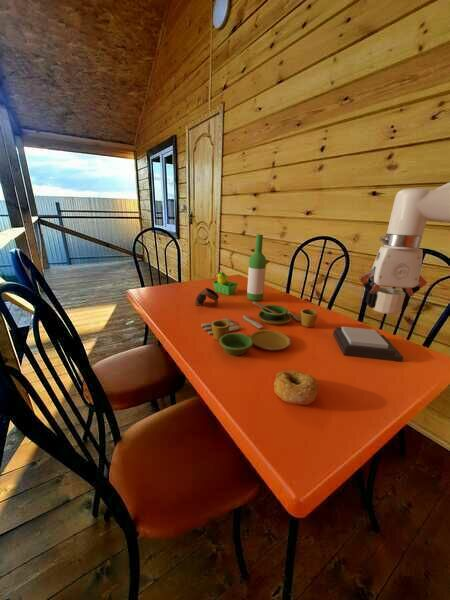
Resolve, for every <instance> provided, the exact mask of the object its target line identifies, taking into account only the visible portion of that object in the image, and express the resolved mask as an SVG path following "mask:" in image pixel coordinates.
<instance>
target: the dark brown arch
mask: <svg viewBox="0 0 450 600" xmlns="http://www.w3.org/2000/svg"><path fill="white" fill-rule="evenodd" d="M219 297H220V295H218V292H215V290H212V289H211V288H209V287H205V288H204V289H202V290H200V291H199V292H198V294H197V296H196V299H195V303H194V304H195V306H196V307H198V306H200V307H201V306H203V305H204V303H205V302H206V300H207V298H209V299H210V300H212V301H214V304H213V306H214V307H217V305H218V303H219Z"/></svg>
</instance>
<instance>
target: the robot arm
mask: <svg viewBox="0 0 450 600" xmlns="http://www.w3.org/2000/svg"><path fill="white" fill-rule="evenodd" d="M427 222H431V223H445V224H446V223H447V224H450V181H449V182H447V183H445V184H442V185H440V186H439V187H437V188H435V189H429V188H420V187H419V188H417V187H416V188H415V187H414V188H403V189H401V190H399V191H398V192H397V193H396V194H395V197H394V200H393V205H392V208H391V214H390V217H389V222H388V226H387V229H386V233H385V235H383V236H380V237H379V242H380V243H383V245H381V246H380V248H379V249H378V252H377V254H376V256H375V258H374V262H373V264H372V269H370V270H369V271H367V272H365V273H363V274H362V275H359V277H358V279H359V281H360V282H361V285H362V286H363V287H364V289H366V291H367V294H366V298H365V303H366V305H367V306H368V307H369V308H370V309H372V308H373V307H374V304H375V300H376V296H377V295H376V294H375V292H376V291H377V290H378V289H379V288H380V287H386V288H400V289H401V291H403V292H405V294H406V295H405V298H404V302H403V305H402V309H401V311H406V309H407V307H408V306H409V302H410V299H411V297H413V296H414V294H416V293H417V292H419V291H420V290H421V289H422V288H423V287H425V286H426V285H427V284H428V281H427V280H426V279H425V278H424V277H423V276H422V275H421V271H422V265H423V253H424V252H423V248H420V246H421V242H422V240H423V235H424V232H425V228H426V225H427ZM368 279H370V281H371V282H370V283H369V281H368Z"/></svg>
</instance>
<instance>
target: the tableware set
mask: <svg viewBox="0 0 450 600" xmlns="http://www.w3.org/2000/svg"><path fill="white" fill-rule="evenodd" d="M252 304H253V305H255V306H257V307H259V308H260V309H261V311H260V312H258V313H257V318H258V319H259V320H260V321H261V322H263V323H265V324H268V325H274V326H280V325H286V324H288V323H290V322H291V320H292V318H293V320H294V321H297V322H300V323H301V326H303V327H306V328H313V327H314V326H315V324H316V322H317V321H316V320H317V318H318V314H319V312H318V311H317V310H315V309H312V308H303V309H301V310H300V316H299V315H296V314H295V313H292V312H291V311H290V310H288V309H287V308H286V307H284V306H283V305H282V306H281V305H277V304H266V305H263V304H261V303H259V302H258V301H252ZM242 318H243V319H244V320H245V321H247V322H248V323H250V324H251V325H253V326H254V327H255V328H257V329H258V330H256V331H254V332H252V333H251V334H250V335H248V334H245V333H240V332H236V331H239V330H240V326H239V325H237V324H236V323H235V322H233V321H232V319H230V318H222V319H216V320H213V321H212V322H205V323H201V324H200V327H201V328H203V331H204V332H206V331H207V335H209V336H210V335H212V336H213V339H214V340H216V341H218V342H219V344H220V346H221V347H222V348H223V349H224V351H225V352H226V354H228V355H231V356H234V357H235V356H242V355H244V354H246V353H247V352H248V351H249V349H250V348H252V346H253V345H254V346H255V347H257V348H258V349H261V350H264V351H269V352H278V351H283V350H285V349H287V348H289V346H290V345H291V344H292V341H291V338H290V337H289V336H288V335H286V334H285V333H283V332H281V331H277V330H273V329H263V328H264V325H263V324H261V323H260V322H259V321H257V320H254V319H251V317H248V316H247V315H245V314H243V315H242Z"/></svg>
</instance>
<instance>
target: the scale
mask: <svg viewBox="0 0 450 600" xmlns="http://www.w3.org/2000/svg"><path fill="white" fill-rule="evenodd" d="M341 329H342V327H338V326H335V329H334V330H333V333H332V335H333V337H334V339H335V342H336V344H337V345H338V347H339V349H340V351H341V353H342V355H343V356H346V357H354V358H363V359H364V358H365V359H371V360H372V359H373V360H381V361H390V362H400V363H403V361H404V356H403V355H402V354H401V353H400V352H399V350H398V349H397V348H396V347H395V346H394V345H393V344H392V342H391V341H389V339H387V337H386V336H385V335H384V334H381V333H380V332H379V331H378V330H376V331H377V332H378V334H379V335H380V336H381V337H382V338H383V339H384V340H385V341H386V343H387V344H388V345H389V346H388V349H386V348H377V347H367V346H358V345H350V344H349V343H348V341H347V339H346V338H345V336H344V334H343V333H342V331H341Z"/></svg>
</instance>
